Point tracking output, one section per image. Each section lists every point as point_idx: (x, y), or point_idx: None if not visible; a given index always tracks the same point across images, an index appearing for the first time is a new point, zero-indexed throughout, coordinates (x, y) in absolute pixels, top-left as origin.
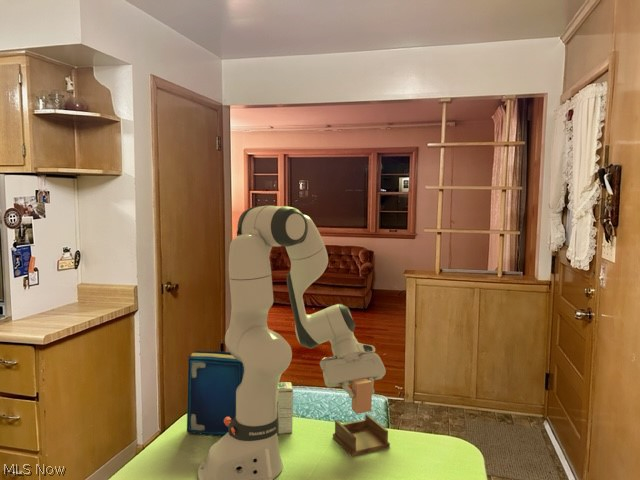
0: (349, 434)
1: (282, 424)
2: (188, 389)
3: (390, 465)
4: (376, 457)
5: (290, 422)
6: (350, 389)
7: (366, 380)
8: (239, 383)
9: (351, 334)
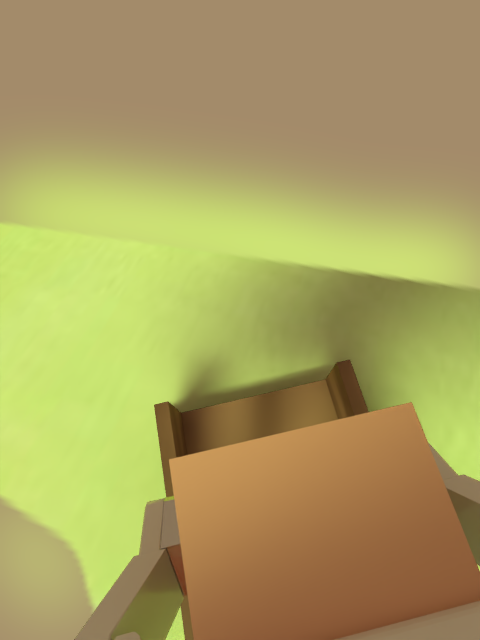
0: (364, 401)
1: None
2: None
3: (213, 299)
4: (244, 355)
5: None
6: (459, 487)
7: (231, 536)
8: None
9: None
